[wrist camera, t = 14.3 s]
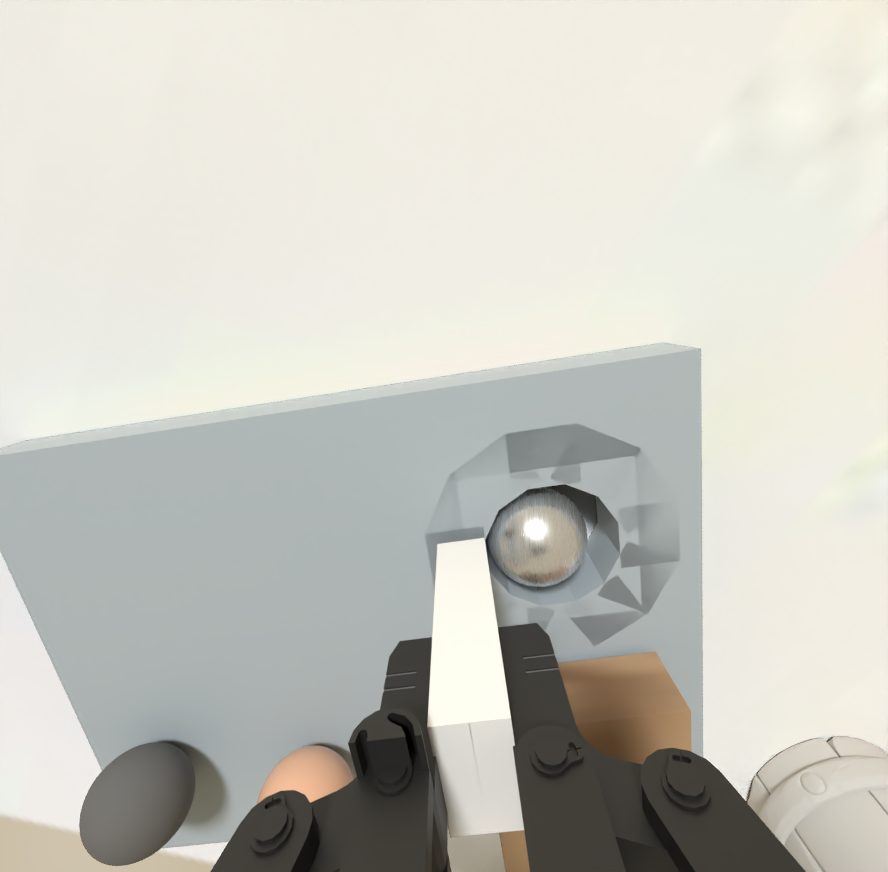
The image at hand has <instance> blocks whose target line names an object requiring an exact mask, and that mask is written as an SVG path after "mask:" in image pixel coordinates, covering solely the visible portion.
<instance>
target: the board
mask: <svg viewBox="0 0 888 872" xmlns="http://www.w3.org/2000/svg"><path fill="white" fill-rule="evenodd" d="M562 484H566V485H569V486H571V487H574V488H577V489H579V490H582V491H585V492H587V493H590V494H593V495H595V496H596V507H597V521H598V522H597V524H596V525H595V527H594V529H593V531H592V533H591V535H590V537H589V539H588V541H587V548H586V552H585V555H584V558H583V560H582V562H581V564H580V565H579V567H578V568H577V569H576V571H575V572H574V573H573V574H572V575H570V576H569V577H568V578H566V579H565V580H563V581H561V582H559V583H557V584H554V585H551V586H546V587H534V586H528V585H524V584H521V583H519V582H517V581H515V580H513V579H511V578H510V577H508V576H507V575H506V574H505V573H504V572H503V571H502V570H501V569H500V568H499V567H498V566H497V564H496V563H495V561H494V559H493V558H492V555H491V553H490V550H489V547H488V542H487V539H486V537H487V535H488V533H489V531H490V529H491V526H492V524H493V522H494V520H495V518H496V515H497V513H498V511H499V510H500V509H501V508H503V507H504V506H505V505H507V504H508V503H510V502H511V501H512V500H514V499H515V498H517V497H518V496H519V495H521V494H522V493H524V492H525V491H526V490H528V489H533V488H541V487H548V486H555V485H562ZM479 538H484V539H485V545H486V552H487V559H488V566H489V572H490V579H491V586H492V593H493V599H494V606H495V613H496V620H497V627H498V628H499V627H507V626H515V625H524V624H532V623H537V624H538V625H539V626H540V627H541V628H542V629H543V630H544V631H545V632H546V633H547V634H548V635H549V637H550V640H551V643H552V647H553V650H554V654H555V657H556V660H557V663H564V662H572V661H581V660H589V659H598V658H606V657H615V656H623V655H632V654H640V653H649V652H656V653H657V655H658V657H659V658H660V660H661V662H662V663H663V665H664V667H665V668H666V670H667V672H668V673H669V675H670V677H671V678H672V680H673V682H674V683H675V685H676V687H677V688H678V690H679V692H680V693H681V695H682V697H683V698H684V700H685V702H686V703H687V705H688V707H689V709H690V710H691V746H692V752H693V753H695V754H697V755H699V756H701V757H703V651H702V447H701V349H700V348H694V347H688V346H681V345H675V344H669V343H658V344H651V345H645V346H638V347H632V348H625V349H619V350H612V351H606V352H599V353H593V354H586V355H580V356H573V357H567V358H560V359H554V360H547V361H541V362H534V363H527V364H521V365H514V366H508V367H501V368H495V369H488V370H482V371H475V372H469V373H462V374H456V375H449V376H443V377H436V378H430V379H423V380H417V381H410V382H404V383H397V384H391V385H384V386H377V387H371V388H364V389H358V390H351V391H345V392H338V393H332V394H325V395H319V396H312V397H306V398H299V399H293V400H286V401H280V402H273V403H267V404H260V405H254V406H247V407H240V408H234V409H227V410H221V411H214V412H208V413H201V414H195V415H188V416H182V417H175V418H169V419H162V420H156V421H149V422H143V423H136V424H130V425H123V426H117V427H110V428H104V429H97V430H90V431H84V432H77V433H71V434H64V435H58V436H51V437H45V438H38V439H32V440H26V441H23V442H20V443H16V444H13V445H10V446H7V447H4V448H0V551H1V553H2V556H3V558H4V560H5V562H6V564H7V566H8V569H9V571H10V573H11V575H12V577H13V579H14V581H15V584H16V586H17V588H18V590H19V592H20V594H21V597H22V599H23V601H24V603H25V605H26V607H27V610H28V612H29V614H30V616H31V618H32V620H33V622H34V625H35V627H36V629H37V631H38V633H39V635H40V638H41V640H42V642H43V644H44V646H45V648H46V650H47V653H48V655H49V657H50V659H51V661H52V663H53V666H54V668H55V670H56V672H57V674H58V676H59V679H60V681H61V683H62V685H63V687H64V689H65V691H66V694H67V696H68V698H69V700H70V702H71V704H72V707H73V709H74V711H75V713H76V715H77V717H78V720H79V722H80V724H81V726H82V728H83V730H84V732H85V735H86V737H87V739H88V741H89V743H90V745H91V748H92V750H93V752H94V754H95V756H96V758H97V761H98V763H99V765H100V767H101V769H102V771H103V770H104V768H105V767H106V766H107V765H108V764H110V763H111V762H112V761H113V760H114V759H115V758H117V757H118V756H119V755H121V754H123V753H124V752H126V751H128V750H129V749H132V748H134V747H136V746H139V745H142V744H146V743H151V742H164V743H169V744H172V745H174V746H176V747H178V748H180V749H181V750H182V751H183V752H184V753H185V754H186V755H187V756H188V758H189V759H190V761H191V763H192V765H193V768H194V772H195V793H194V798H193V802H192V805H191V808H190V810H189V812H188V815H187V817H186V819H185V820H184V822H183V824H182V825H181V827H180V828H179V830H178V831H177V832H176V834H175V835H174V836H173V837H172V838H171V839H170V840H169V841H168V842H167V843H166V844H165V845H164V846H163V847H162V848H170V847H180V846H190V845H200V844H210V843H220V842H229V841H230V839H231V838H232V836H233V834H234V833H235V831H236V829H237V828H238V826H239V824H240V823H241V822H242V820H243V819H244V818H245V817H246V815H247V814H248V813H249V811H250V810H251V809H252V808H253V807H254V806H256V805H257V800H258V797H259V794H260V791H261V788H262V786H263V784H264V782H265V780H266V778H267V776H268V775H269V773H270V772H271V770H272V769H273V768H274V767H275V765H276V764H277V763H278V762H279V761H280V760H281V759H283V758H284V757H285V756H286V755H288V754H289V753H291V752H293V751H294V750H297V749H299V748H302V747H305V746H314V745H317V746H324V747H327V748H330V749H332V750H334V751H335V752H337V753H338V754H340V755H341V756H342V757H343V758H344V760H345V761H346V762H347V764H348V765H349V767H350V769H351V771H352V774H353V777H354V779H355V778H356V777H357V775H356V771H355V768H354V764H353V760H352V757H351V753H350V749H349V745H348V742H349V740H350V737H351V735H352V733H353V730H354V729H355V728H356V727H357V726H358V725H359V724H360V722H361V721H362V720H363V719H364V718H366V717H368V716H369V715H371V714H372V713H374V712H376V711H379V710H380V706H381V700H382V695H383V692H384V683H385V678H386V672H387V666H388V661H389V656H390V655H391V653H392V652H393V650H394V649H395V647H396V646H397V644H398V643H399V641H404V640H412V639H421V638H429V637H432V633H433V615H434V596H435V578H436V560H437V544H441V543H449V542H456V541H464V540H471V539H479Z"/></svg>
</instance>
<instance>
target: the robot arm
mask: <svg viewBox="0 0 888 872" xmlns="http://www.w3.org/2000/svg"><path fill="white" fill-rule="evenodd" d="M348 745H349V749H350V753H351V757H352V760H353V764H354V768H355V771H356V775H357V777H356V778H355V779H354V780H352V781H351V782H350V783H349V784H348V785H346V786H344V787H343V788H341V789H339V790H337V791H335V792H333V793H331V794H329V795H326V796H324V797H322V798H320V799H317V800H315V801H313V802H311V803H310V802H309V800H308V798H307V797H306V795H305V794H302V793H300V792H298V791H296V790H285V791H279V792H277V793H275V794H272V795H270V796H268V797H266V798H264V799H263V800H262V801H261V802H259V803H258V804H257V805H256V806H254V807H253V808H252V809H251V810H250V811H249V813H248V814H247V815H246V817H245V818H244V819H243V820H242V822H241V823H240V824H239V826H238V828H237V829H236V831H235V833H234V834H233V836H232V838H231V839H230V841H229V842H228V844H227V846H226V847H225V849H224V851H223V852H222V854H221V856H220V857H219V859H218V861H217V862H216V864H215V865H214V867H213V869H212V870H211V872H451V868H450V862H449V857H448V852H447V824H448V829H449V834H450V837H459V836H469V835H480V834H490V833H500V832H510V831H521V830H524V832H525V839H526V846H527V854H528V861H529V868H530V872H806V871H805V870H804V869H803V868H802V866H801V865H800V864H799V863H798V862H797V861H796V859H795V858H794V857H793V856H792V855H791V854H790V852H789V851H788V850H787V849H786V848H785V847H784V845H783V844H782V843H781V842H780V841H779V840H778V838H777V837H776V836H775V835H774V834H773V833H772V831H771V830H770V829H769V828H768V827H767V826H766V824H765V823H764V822H763V821H762V820H761V819H760V817H759V816H758V815H757V814H756V813H755V812H754V810H753V809H752V808H751V807H750V806H749V805H748V803H747V802H746V801H745V800H744V799H743V798H742V796H741V795H740V794H739V793H738V792H737V791H736V789H735V788H734V787H733V786H732V785H731V784H730V782H729V781H728V780H727V779H726V778H725V777H724V775H723V774H722V773H721V772H720V771H719V770H718V769H717V768H715V767H714V766H713V765H712V764H711V763H710V762H709V761H708V760H706V759H705V758H703V757H701V756H699V755H697V754H695V753H693V752H691V751H688V750H683V749H678V748H673V747H672V748H666V749H659V750H656V751H655V752H653V753H652V754H650V755H649V756H647V757H646V759H645V761H644V763H643V764H638V763H633V762H629V761H624V760H619V759H616V758H613V757H610V756H607V755H605V754H603V753H601V752H599V751H598V750H596V749H595V748H593V747H592V746H591V745H590V744H589V743H588V742H586V740H585V739H584V738H583V736H582V735H581V734H580V732H579V730H578V728H577V725H576V723H575V720H574V716H573V713H572V710H571V706H570V703H569V700H568V697H567V693H566V690H565V687H564V683H563V680H562V677H561V673H560V670H559V667H558V663H557V660H556V657H555V654H554V650H553V647H552V643H551V640H550V637H549V635H548V634H547V633H546V632H545V631H544V630H543V629H542V628H541V627H540V626H539V625H538V624H537V623H532V624H524V625H515V626H507V627H499V628H498V627H497V620H496V613H495V606H494V599H493V593H492V586H491V579H490V572H489V566H488V559H487V552H486V545H485V539H484V538H479V539H471V540H464V541H456V542H449V543H441V544H437V560H436V578H435V596H434V615H433V633H432V637H429V638H421V639H412V640H404V641H399V643H398V644H397V646H396V647H395V649H394V650H393V652H392V653H391V655H390V656H389V661H388V666H387V672H386V678H385V683H384V692H383V695H382V700H381V706H380V710H379V711H376V712H374V713H372V714H371V715H369V716H368V717H366V718H364V719H363V720H362V721H361V722H360V724H359V725H358V726H357V727H356V728H355V729H354V730H353V733H352V735H351V737H350V740H349V742H348Z"/></svg>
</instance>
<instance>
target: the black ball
mask: <svg viewBox="0 0 888 872" xmlns="http://www.w3.org/2000/svg"><path fill="white" fill-rule="evenodd" d="M194 793H195V772H194V768H193V765H192V763H191V761H190V759H189V758H188V756H187V755H186V754H185V753H184V752H183V751H182V750H181V749H180V748H178V747H176V746H174V745H172V744H169V743H164V742H151V743H146V744H142V745H139V746H136V747H134V748H132V749H129V750H128V751H126V752H124V753H123V754H121V755H119V756H118V757H117V758H115V759H114V760H113V761H112V762H111V763H110V764H108V765H107V766H106V767H105V768H104V770H103V771H102V772H101V773H100V774H99V776H98V777H97V778H96V779H95V781H94V782H93V784H92V786H91V787H90V789H89V791H88V793H87V795H86V798H85V800H84V803H83V806H82V810H81V814H80V824H79V826H80V836H81V839H82V842H83V845H84V847H85V849H86V850H87V852H88V853H89V854H90V855H91V856H92V857H93V858H94V859H96V860H97V861H99V862H101V863H104V864H107V865H112V866H121V865H128V864H132V863H136V862H138V861H141V860H143V859H145V858H147V857H149V856H151V855H152V854H154V853H155V852H157V851H158V850H159V849H161V848H162V847H163V846H164V845H165V844H166V843H167V842H168V841H169V840H170V839H171V838H172V837H173V836H174V835H175V834H176V832H177V831H178V830H179V828H180V827H181V825H182V824H183V822H184V820H185V819H186V817H187V815H188V812H189V810H190V808H191V805H192V802H193V798H194Z"/></svg>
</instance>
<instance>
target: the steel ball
mask: <svg viewBox="0 0 888 872" xmlns="http://www.w3.org/2000/svg"><path fill="white" fill-rule="evenodd" d="M487 542H488V547H489V550H490V553H491V555H492V558H493V559H494V561H495V563H496V564H497V566H498V567H499V568H500V569H501V570H502V571H503V572H504V573H505V574H506V575H507V576H508V577H510V578H511V579H513V580H515V581H517V582H519V583H521V584H524V585H528V586H534V587H546V586H551V585H554V584H557V583H559V582H561V581H563V580H565V579H566V578H568V577H569V576H570V575H572V574H573V573H574V572H575V571H576V569H577V568H578V567H579V565H580V564H581V562H582V560H583V558H584V555H585V552H586V548H587V529H586V525H585V522H584V519H583V517H582V515H581V513H580V511H579V510H578V508H577V507H576V506H575V504H574V503H573V502H572V501H571V500H570V499H568V498H567V497H566V496H564V495H563V494H561V493H560V492H558V491H555V490H553V489H550V488H547V487H541V488H533V489H528V490H526V491H525V492H524V493H522V494H521V495H519V496H518V497H517V498H515V499H514V500H512V501H511V502H510V503H508V504H507V505H505V506H504V507H503V508H501V509H500V510H499V511H498V513H497V515H496V518H495V520H494V522H493V524H492V526H491V529H490V531H489V533H488V535H487Z"/></svg>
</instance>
